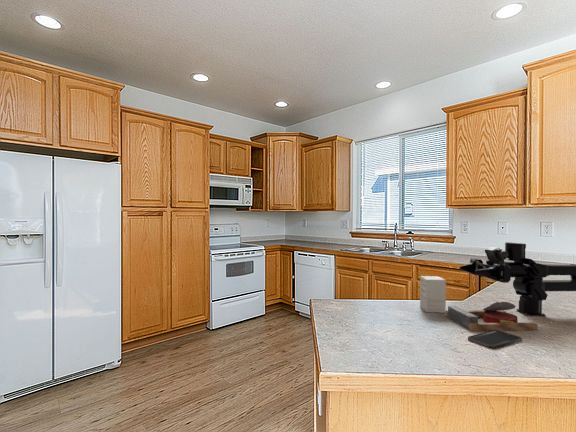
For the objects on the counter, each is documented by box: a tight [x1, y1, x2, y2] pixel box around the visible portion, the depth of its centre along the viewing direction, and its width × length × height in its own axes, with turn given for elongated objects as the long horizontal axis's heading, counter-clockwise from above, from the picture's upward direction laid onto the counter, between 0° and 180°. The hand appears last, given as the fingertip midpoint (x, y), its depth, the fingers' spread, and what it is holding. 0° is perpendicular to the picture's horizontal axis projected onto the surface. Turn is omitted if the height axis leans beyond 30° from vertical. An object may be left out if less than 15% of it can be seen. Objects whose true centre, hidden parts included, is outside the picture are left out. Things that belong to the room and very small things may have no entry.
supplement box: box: [419, 275, 447, 314], centre depth 123 cm, size 7×7×13 cm
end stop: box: [447, 305, 479, 330], centre depth 108 cm, size 3×12×4 cm, turn 4°
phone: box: [467, 330, 523, 350], centre depth 93 cm, size 8×1×15 cm
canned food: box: [482, 301, 518, 323], centre depth 109 cm, size 11×10×10 cm
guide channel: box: [445, 309, 538, 332], centre depth 109 cm, size 22×15×2 cm
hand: (467, 269), depth 118 cm, fingers open, 9 cm apart
